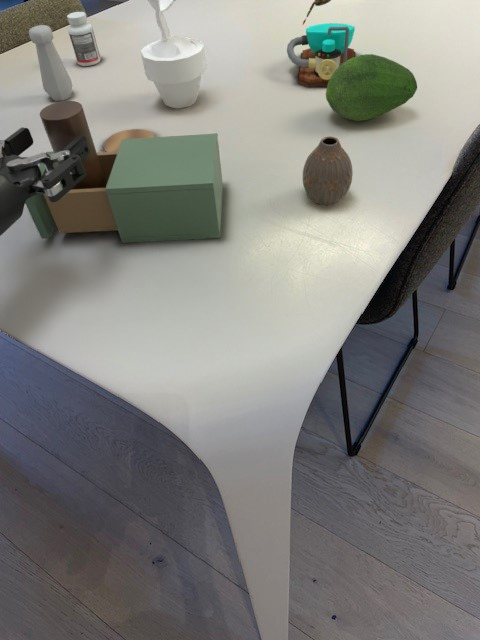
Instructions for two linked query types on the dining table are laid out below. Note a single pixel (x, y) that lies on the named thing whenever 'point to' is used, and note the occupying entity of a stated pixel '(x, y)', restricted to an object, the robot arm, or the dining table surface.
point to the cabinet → (167, 188)
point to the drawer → (75, 206)
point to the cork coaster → (116, 139)
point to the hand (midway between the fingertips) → (56, 138)
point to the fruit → (369, 87)
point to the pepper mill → (72, 138)
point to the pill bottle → (83, 39)
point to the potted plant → (174, 62)
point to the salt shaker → (50, 64)
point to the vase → (327, 172)
